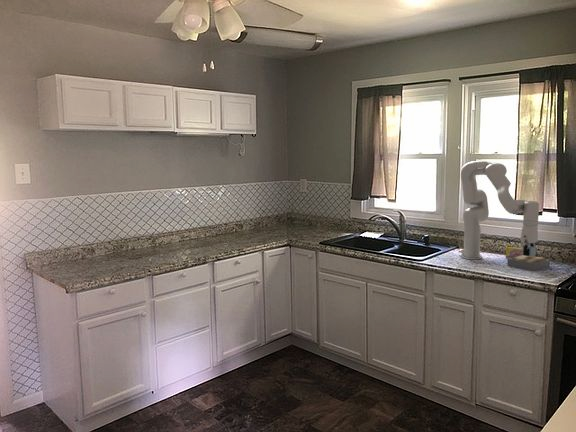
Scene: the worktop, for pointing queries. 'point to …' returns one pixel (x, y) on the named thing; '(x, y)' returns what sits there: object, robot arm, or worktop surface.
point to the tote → (528, 264)
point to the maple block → (529, 259)
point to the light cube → (531, 251)
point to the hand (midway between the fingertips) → (528, 254)
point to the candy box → (513, 252)
